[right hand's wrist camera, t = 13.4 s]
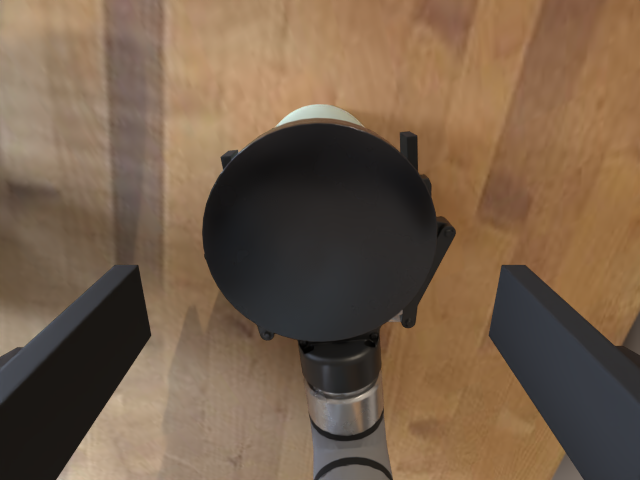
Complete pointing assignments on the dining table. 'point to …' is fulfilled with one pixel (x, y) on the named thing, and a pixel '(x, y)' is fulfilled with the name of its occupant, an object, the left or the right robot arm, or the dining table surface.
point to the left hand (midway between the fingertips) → (318, 143)
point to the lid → (319, 230)
